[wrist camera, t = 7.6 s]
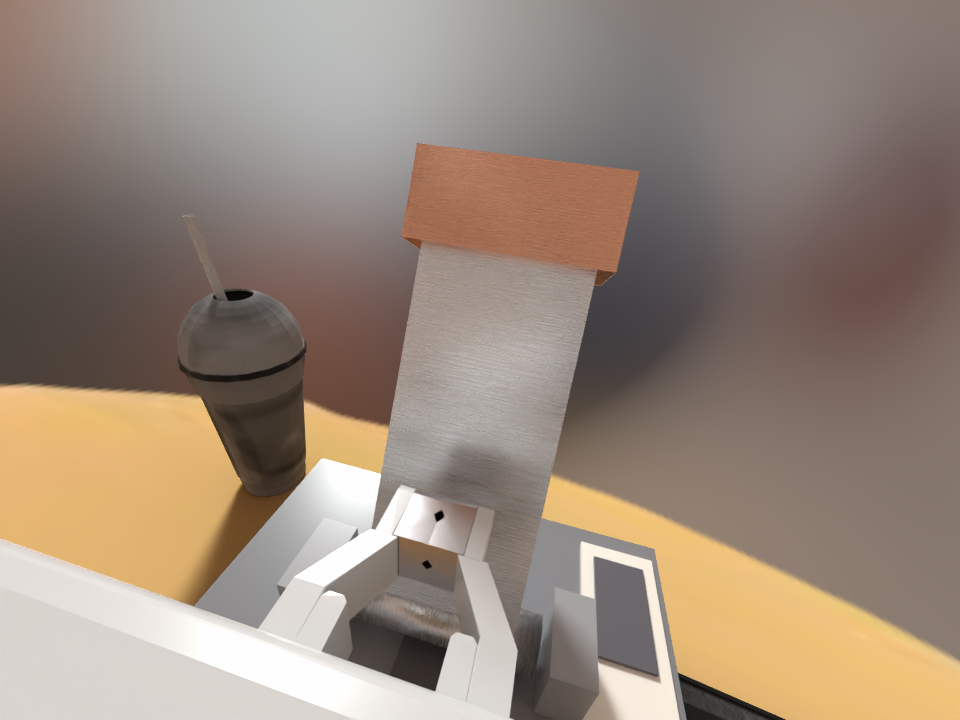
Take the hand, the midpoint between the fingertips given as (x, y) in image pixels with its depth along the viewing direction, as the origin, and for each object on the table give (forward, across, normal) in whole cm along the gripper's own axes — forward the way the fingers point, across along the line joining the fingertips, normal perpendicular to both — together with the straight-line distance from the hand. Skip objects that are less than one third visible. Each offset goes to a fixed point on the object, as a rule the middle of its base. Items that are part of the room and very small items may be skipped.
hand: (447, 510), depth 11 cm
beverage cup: (+10, +17, +15) cm, 25 cm away
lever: (0, 0, +7) cm, 7 cm away
